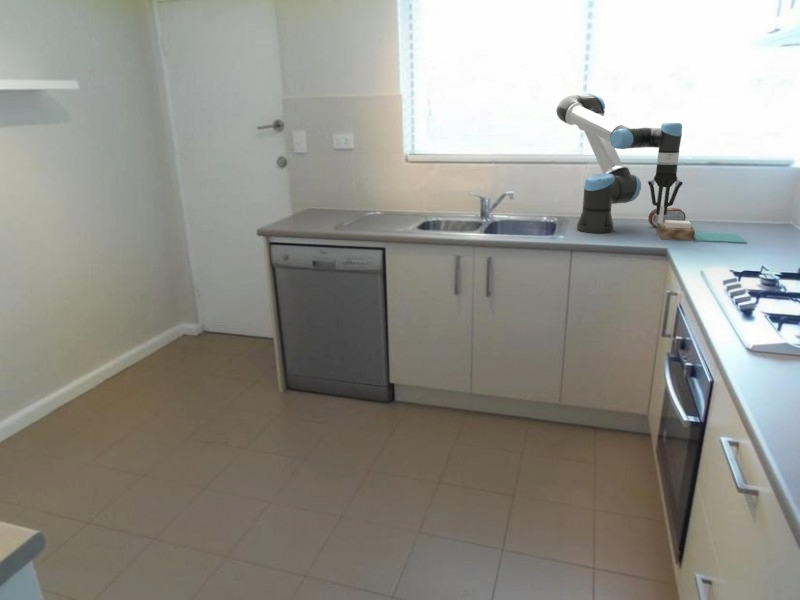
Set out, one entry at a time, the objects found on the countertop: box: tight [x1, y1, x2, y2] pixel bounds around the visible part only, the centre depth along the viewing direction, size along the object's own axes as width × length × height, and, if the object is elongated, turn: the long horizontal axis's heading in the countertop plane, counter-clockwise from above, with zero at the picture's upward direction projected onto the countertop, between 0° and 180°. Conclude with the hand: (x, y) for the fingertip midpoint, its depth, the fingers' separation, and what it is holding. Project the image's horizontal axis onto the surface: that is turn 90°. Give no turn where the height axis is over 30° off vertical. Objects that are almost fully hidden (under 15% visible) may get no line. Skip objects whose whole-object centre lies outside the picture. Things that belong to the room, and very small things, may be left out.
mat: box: [694, 231, 748, 244], centre depth 230 cm, size 18×16×1 cm
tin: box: [648, 207, 687, 228], centre depth 251 cm, size 15×3×8 cm, turn 84°
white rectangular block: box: [664, 220, 692, 229], centre depth 233 cm, size 9×6×2 cm, turn 73°
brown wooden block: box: [656, 223, 696, 241], centre depth 234 cm, size 12×14×4 cm
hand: (660, 222), depth 234 cm, fingers closed
